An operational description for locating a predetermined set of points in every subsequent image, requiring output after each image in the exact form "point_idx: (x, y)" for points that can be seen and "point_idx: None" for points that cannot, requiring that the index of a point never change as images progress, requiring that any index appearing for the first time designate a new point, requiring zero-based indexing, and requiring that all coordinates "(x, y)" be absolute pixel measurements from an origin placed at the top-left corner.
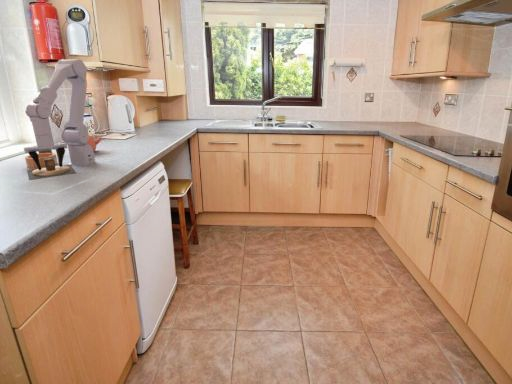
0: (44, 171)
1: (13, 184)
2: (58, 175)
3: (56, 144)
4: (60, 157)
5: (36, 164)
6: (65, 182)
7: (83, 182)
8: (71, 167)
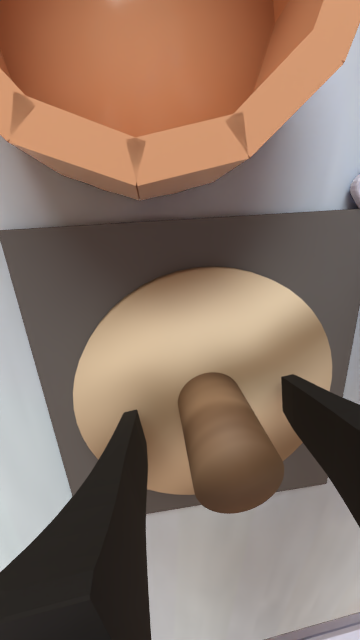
0: (164, 431)
1: (5, 545)
2: None
3: None
4: (351, 500)
5: (110, 446)
6: (243, 577)
7: (302, 593)
8: (347, 334)
